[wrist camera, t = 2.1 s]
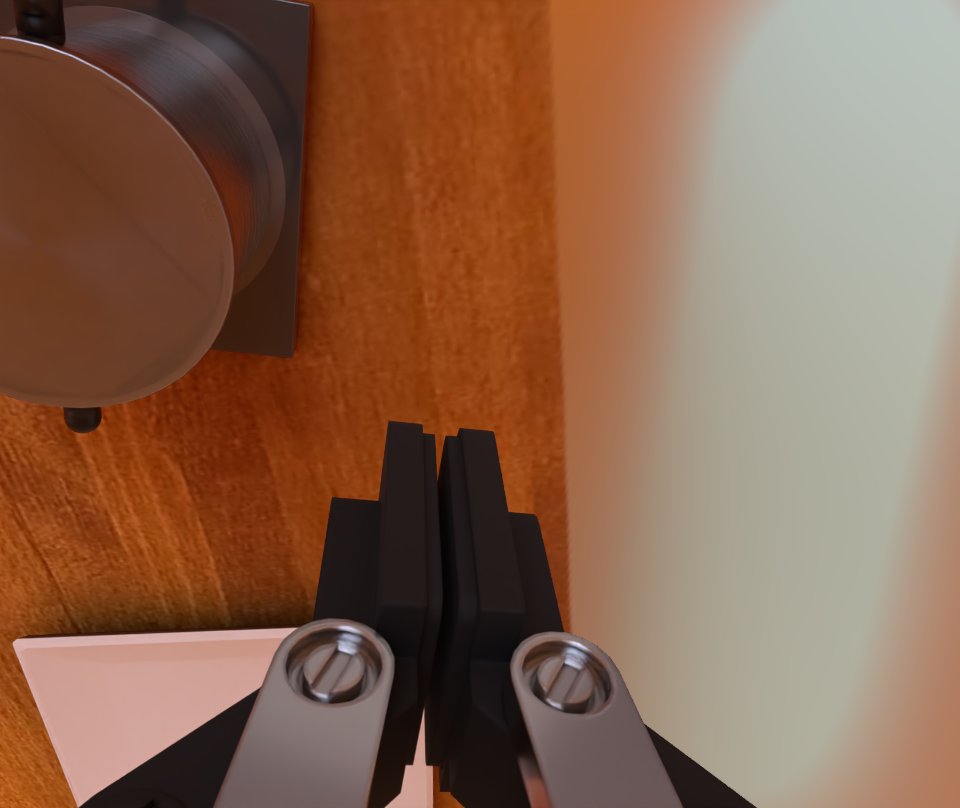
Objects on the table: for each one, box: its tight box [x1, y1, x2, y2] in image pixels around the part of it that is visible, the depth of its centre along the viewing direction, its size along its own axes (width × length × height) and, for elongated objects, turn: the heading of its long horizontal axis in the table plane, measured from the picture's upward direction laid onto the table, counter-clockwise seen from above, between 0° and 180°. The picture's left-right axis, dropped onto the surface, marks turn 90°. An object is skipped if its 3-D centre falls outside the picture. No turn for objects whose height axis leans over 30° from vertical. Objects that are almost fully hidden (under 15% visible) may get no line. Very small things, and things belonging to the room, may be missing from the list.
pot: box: [0, 0, 270, 433], centre depth 21 cm, size 13×9×7 cm
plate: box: [12, 624, 433, 808], centre depth 39 cm, size 19×19×2 cm
